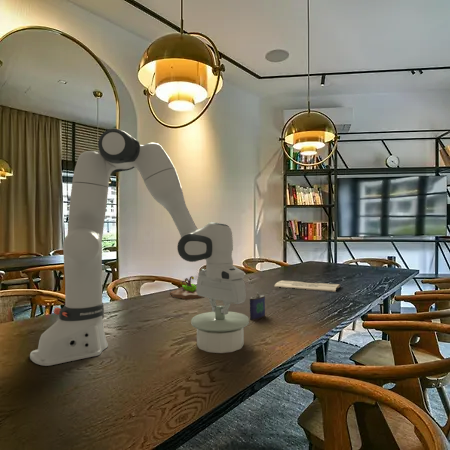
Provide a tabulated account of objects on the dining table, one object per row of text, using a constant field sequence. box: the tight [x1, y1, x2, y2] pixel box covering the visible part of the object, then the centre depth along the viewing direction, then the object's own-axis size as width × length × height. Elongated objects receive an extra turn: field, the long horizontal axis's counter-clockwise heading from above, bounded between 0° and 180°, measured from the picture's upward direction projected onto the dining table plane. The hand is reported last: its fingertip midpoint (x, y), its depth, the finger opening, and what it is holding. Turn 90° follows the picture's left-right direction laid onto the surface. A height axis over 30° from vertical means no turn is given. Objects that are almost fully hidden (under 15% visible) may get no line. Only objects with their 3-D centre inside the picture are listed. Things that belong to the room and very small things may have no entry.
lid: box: [190, 305, 250, 331], centre depth 117 cm, size 19×19×5 cm
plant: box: [169, 275, 202, 300], centre depth 198 cm, size 20×20×11 cm
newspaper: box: [274, 280, 341, 293], centre depth 219 cm, size 37×19×3 cm, turn 64°
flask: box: [249, 292, 266, 321], centre depth 150 cm, size 9×3×11 cm, turn 138°
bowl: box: [196, 327, 245, 354], centre depth 117 cm, size 15×15×6 cm
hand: (219, 313), depth 117 cm, fingers closed on lid, 3 cm apart
